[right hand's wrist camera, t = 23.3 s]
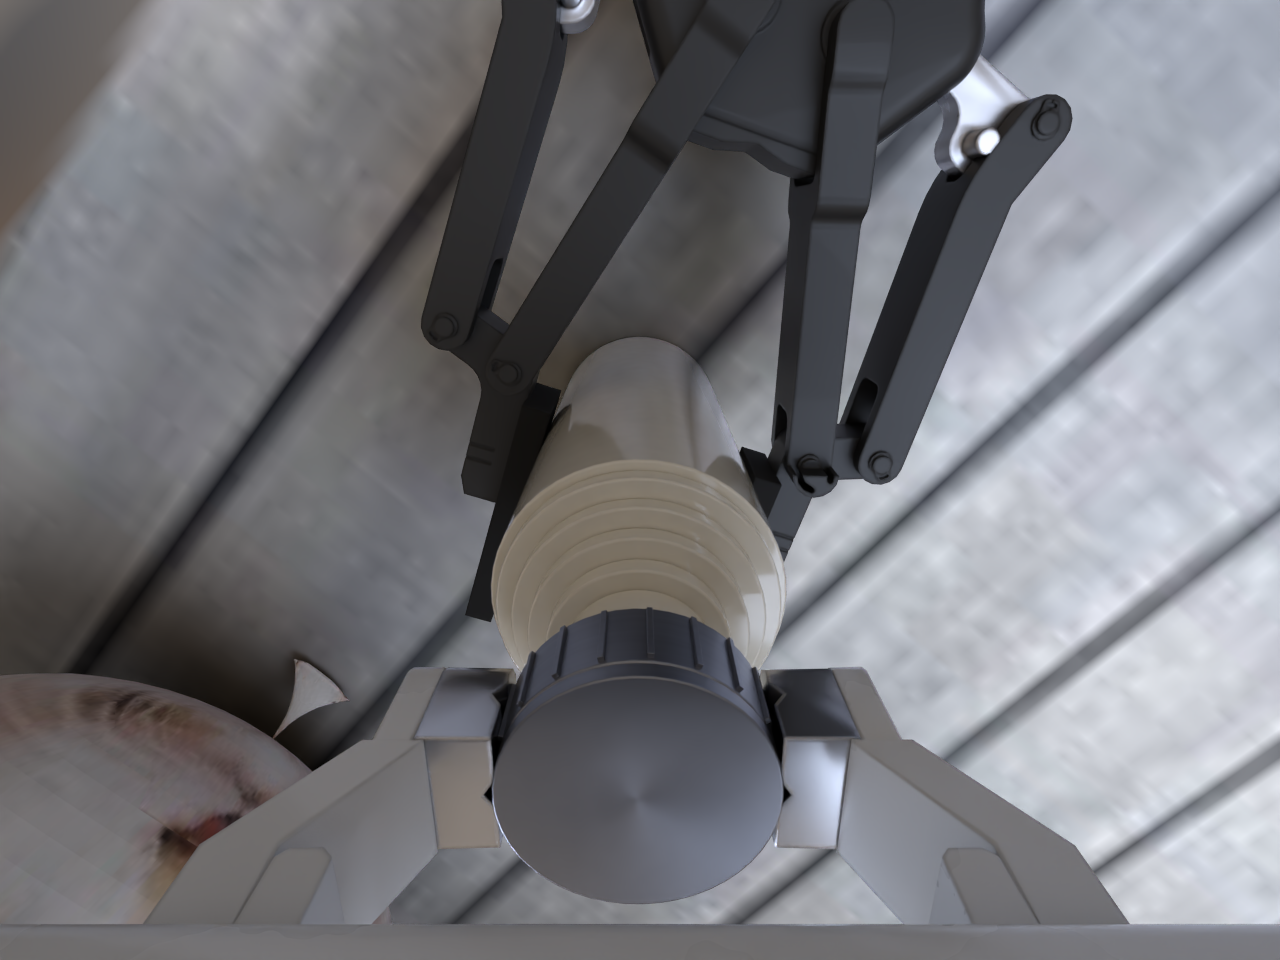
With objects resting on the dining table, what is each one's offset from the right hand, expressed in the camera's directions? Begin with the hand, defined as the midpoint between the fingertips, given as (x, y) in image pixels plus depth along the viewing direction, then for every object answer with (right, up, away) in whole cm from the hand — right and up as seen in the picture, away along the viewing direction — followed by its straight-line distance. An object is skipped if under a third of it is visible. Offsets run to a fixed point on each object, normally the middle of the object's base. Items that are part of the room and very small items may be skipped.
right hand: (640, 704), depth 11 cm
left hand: (-2, -1, +11) cm, 11 cm away
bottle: (0, +6, +16) cm, 17 cm away
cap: (0, -1, -1) cm, 2 cm away
